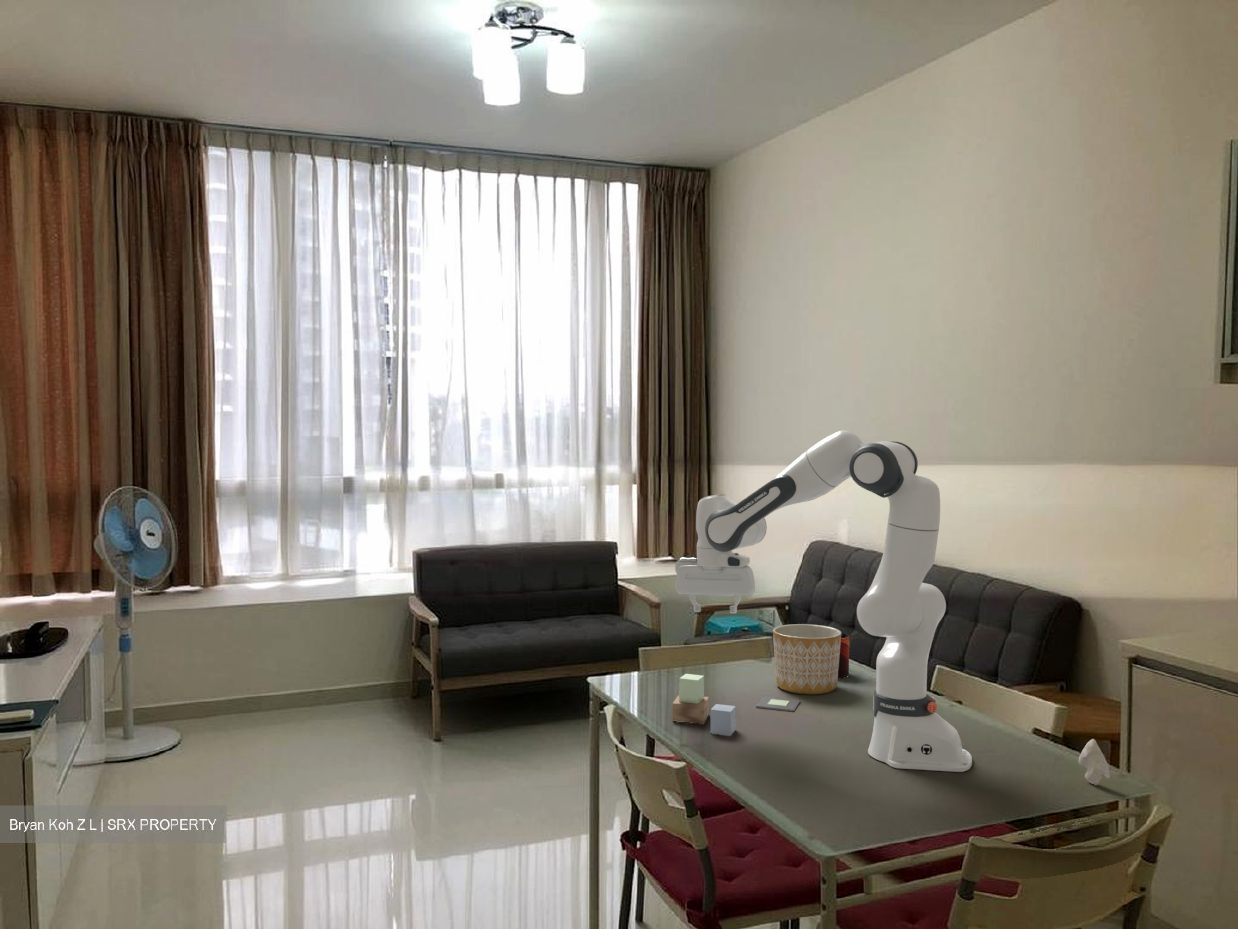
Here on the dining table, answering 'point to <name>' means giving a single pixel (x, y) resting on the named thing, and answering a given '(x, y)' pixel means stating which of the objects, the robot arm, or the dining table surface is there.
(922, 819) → the dining table surface
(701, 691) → the sage block
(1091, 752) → the arrowhead
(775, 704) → the card
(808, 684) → the planter
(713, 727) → the slate block
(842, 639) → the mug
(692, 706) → the walnut base
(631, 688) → the dining table surface
